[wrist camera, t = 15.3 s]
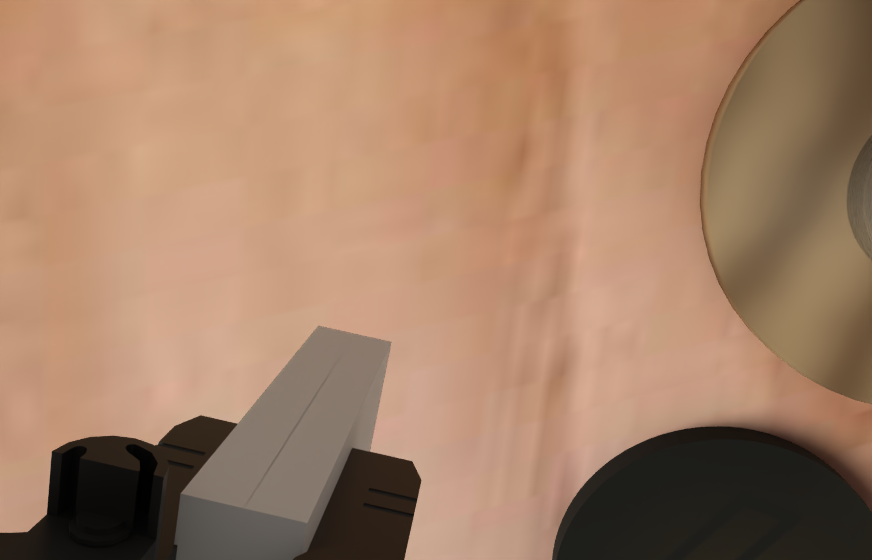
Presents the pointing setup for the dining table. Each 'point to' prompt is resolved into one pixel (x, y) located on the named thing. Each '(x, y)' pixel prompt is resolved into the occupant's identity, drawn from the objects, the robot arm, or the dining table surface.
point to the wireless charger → (715, 503)
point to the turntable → (796, 192)
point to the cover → (861, 199)
